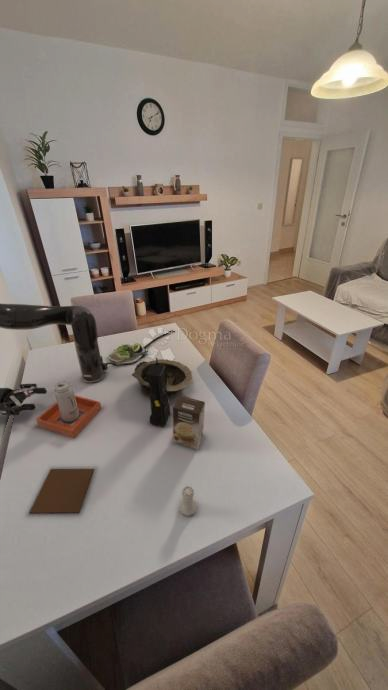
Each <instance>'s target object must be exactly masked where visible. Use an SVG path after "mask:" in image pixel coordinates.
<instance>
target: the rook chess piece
mask: <svg viewBox="0 0 388 690" xmlns="http://www.w3.org/2000/svg"><path fill="white" fill-rule="evenodd" d="M181 496H182V499H181V501H180V503H179V512H180V513H181V514H182V515H184V516H187V517H188V516H189V517H190V516H192V515H193V514H195V513H196V510H197V504H196V501H195V500H194V499H193V498H194V496H195V490H194V488H193V487H192V486H191V485H189V486H188V485H185V487H183V488H182V490H181Z"/></svg>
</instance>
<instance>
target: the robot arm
mask: <svg viewBox="0 0 388 690" xmlns="http://www.w3.org/2000/svg"><path fill="white" fill-rule="evenodd" d="M52 325H65V326H66V325H67V326H70V327H71V329H72V334H73V343H74V347H75V352H76V357H77V360H78V365H79V369H80V374H81V380H82V381H83V382H84V383H86V384H93V383H98V382H100V381H102V380H103V379H104V377H105V374H106V371H107V370H108V369H109V367H108V366H109V365H111V366H117V365H116V362H104V359H103V356H102V354H101V352H100V347H99V340H98V338H99V334H98V333H99V332H98V328H97V322H96V318H95V315H94V314H93V313H92V312H91V311H90V309H88V308H87V307H86V306H83V305H66V306H61V305H60V306H53V305H39V304H38V305H37V304H27V303H26V304H24V303H0V329H4V330H10V331H11V330H15V331H17V330H21V331H27V330H28V331H29V330H35V329H40V328H44V327H47V326H52ZM173 330H174V329H171V330H169V331H168V332H169V333H167V332H165V333H166V334H165V333H163V334H161V335H158V336H157V337H155V338H154V339H152V340H151V341H149V343H147V344H146V345H144V346H143V348H144V349H145V350H146V348H147V347H148V346H150V345H151V344H152V343H153V342H155V341H157V340H158V339H160V338H162V337H164V336H167V335H168V334H170V333H176V331H175V330H174V331H173ZM171 331H172V332H171ZM131 357H132V356H131ZM47 392H48V391H47V388H46V387H38V385H37V383H20V384H19V388H18V389H12V388H10V387H0V414H1V415H2V416H19V415H20V413H21V412H24V411H34V410H36V408H37V407H36V405H35V404H34V403H24V401H25V400H27V399H28V398H30V397H31V396H33V395H47Z"/></svg>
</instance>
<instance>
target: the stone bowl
mask: <svg viewBox="0 0 388 690" xmlns="http://www.w3.org/2000/svg"><path fill="white" fill-rule="evenodd" d="M157 362H158V364H163V365H165V367H166V376H167V386H166V387H167V393H168V399H170V398H172V397H174V396H176V395H178V393H179V392H180V391H181V390H182V389H183V388H185V387H187V386H188V385H190V384H191V382H192V381H193V380H194V378H193V374H192V371H191V369H190V368H189V367H188V366H187V365H184V364H183V363H181V362H179V361H176V360H169V359H163V358H161V359H159V358H158V359H157ZM151 364H156V359H154V360H149V361H145V360H143V361H140V362H139V363H138V364H136V366H135V368H134V372H133V373H131V377H133V378H134V379H136V380H137V381H138V383H139V384H140V389H141V392H142V393H143V395H146V396H150V390H149V382H148V381H146V372H147V371H148V369H149V368H150V366H151Z"/></svg>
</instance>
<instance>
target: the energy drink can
mask: <svg viewBox="0 0 388 690" xmlns="http://www.w3.org/2000/svg"><path fill="white" fill-rule="evenodd" d="M53 394H54V397H55V400H56V402H57V404H58V407H59V410H60V414H61V419H62V420H63V422H64V421H65V422H66V423H71V422H75V420H76V421H77V420H78V419H79V418H78V417H79V415H80V412H79V411H78V407H77V403H76V399H75V395H76V394H75V391H74V388H73V384H71V382H69V381H67V380H64V381H59V382H57V383H56V384H55V385H54V390H53Z"/></svg>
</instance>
